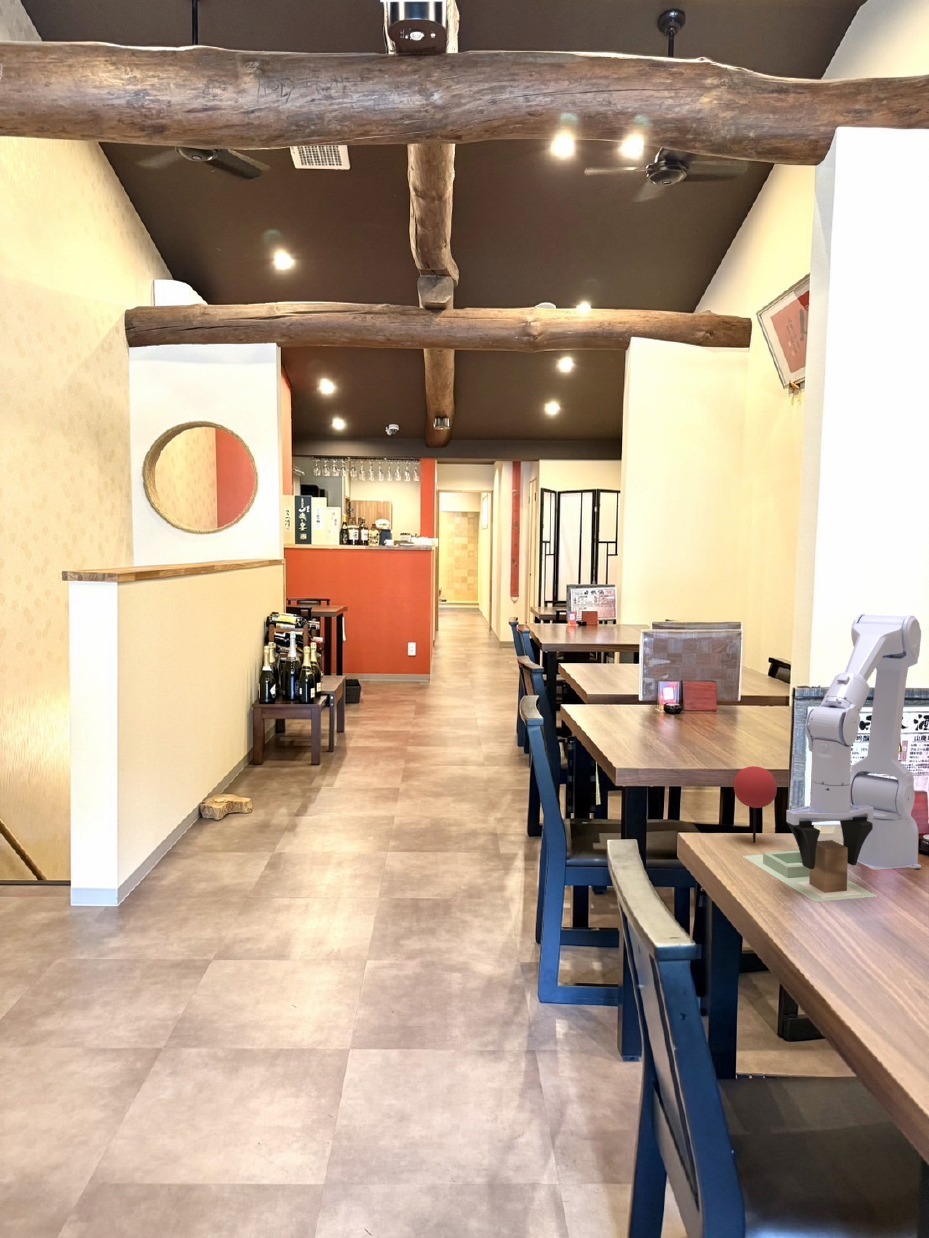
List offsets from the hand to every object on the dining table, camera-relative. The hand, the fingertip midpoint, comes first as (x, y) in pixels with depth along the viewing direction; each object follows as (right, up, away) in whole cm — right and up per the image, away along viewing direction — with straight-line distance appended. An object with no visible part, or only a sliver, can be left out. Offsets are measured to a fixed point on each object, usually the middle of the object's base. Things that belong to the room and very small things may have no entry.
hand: (829, 865), depth 135 cm
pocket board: (-1, -4, +7) cm, 8 cm away
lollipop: (-4, -4, +24) cm, 25 cm away
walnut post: (0, -4, 0) cm, 4 cm away
